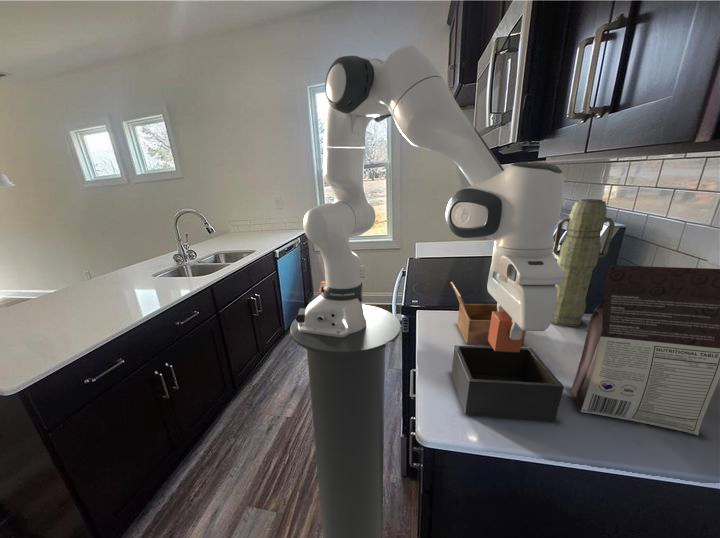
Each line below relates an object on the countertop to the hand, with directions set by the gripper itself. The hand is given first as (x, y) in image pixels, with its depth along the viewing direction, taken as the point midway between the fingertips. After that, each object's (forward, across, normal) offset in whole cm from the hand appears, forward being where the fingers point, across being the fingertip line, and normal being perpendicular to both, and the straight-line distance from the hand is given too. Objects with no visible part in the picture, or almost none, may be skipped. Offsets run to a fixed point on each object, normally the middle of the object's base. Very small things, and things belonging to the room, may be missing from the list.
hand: (508, 331), depth 61 cm
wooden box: (+15, -28, +6) cm, 32 cm away
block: (+3, 0, 0) cm, 3 cm away
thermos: (+15, -39, +30) cm, 51 cm away
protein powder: (+15, +2, +22) cm, 27 cm away
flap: (+4, -28, -2) cm, 28 cm away
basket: (+15, 0, 0) cm, 15 cm away
